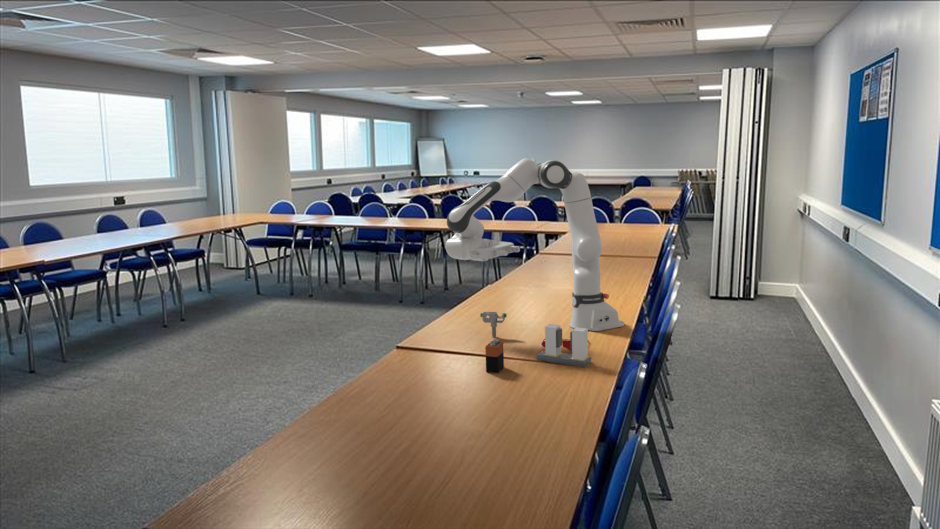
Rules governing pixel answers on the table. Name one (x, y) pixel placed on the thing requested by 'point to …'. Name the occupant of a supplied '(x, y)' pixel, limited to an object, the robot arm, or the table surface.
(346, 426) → the table surface
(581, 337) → the block
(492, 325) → the mechanical component
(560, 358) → the rail
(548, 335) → the block
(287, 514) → the table surface
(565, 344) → the glasses
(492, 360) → the battery
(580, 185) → the robot arm
